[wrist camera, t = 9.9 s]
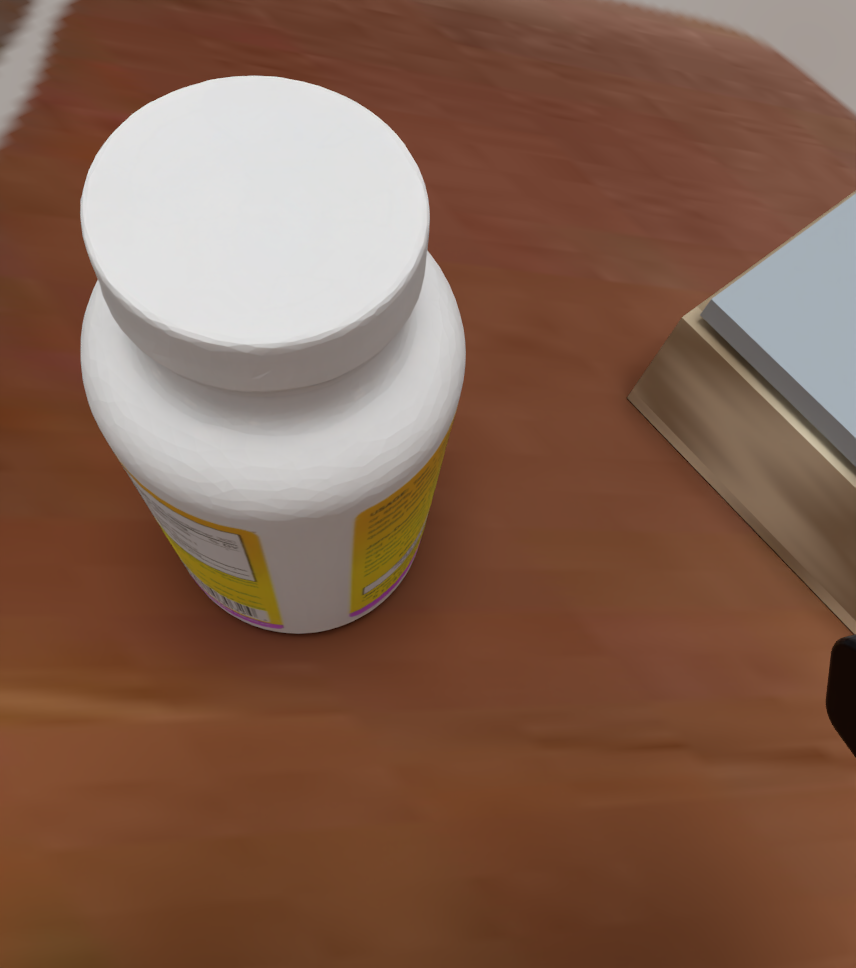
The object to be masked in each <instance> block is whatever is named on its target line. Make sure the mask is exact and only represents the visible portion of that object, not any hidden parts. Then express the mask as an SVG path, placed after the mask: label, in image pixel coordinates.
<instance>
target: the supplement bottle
mask: <svg viewBox="0 0 856 968" xmlns="http://www.w3.org/2000/svg"><path fill="white" fill-rule="evenodd" d="M80 214H81V226H82V235H83V239H84V242H85V246H86V249H87V252H88V255H89V258H90V261H91V263H92V266H93V268H94V271H95V273H96V275H97V278H98V281H97V283H96V285H95V287H94V289H93V292H92V294H91V297H90V300H89V303H88V306H87V309H86V312H85V316H84V321H83V326H82V334H81V367H82V377H83V382H84V387H85V391H86V395H87V399H88V402H89V405H90V408H91V411H92V414H93V416H94V418H95V420H96V422H97V424H98V426H99V428H100V430H101V432H102V433H103V435H104V437H105V439H106V440H107V442H108V444H109V445H110V447H111V449H112V450H113V452H114V454H115V455H116V457H117V458H118V460H119V461H120V463H121V464H122V466H123V468H124V469H125V471H126V472H127V474H128V475H129V477H130V478H131V480H132V482H133V483H134V485H135V487H136V488H137V490H138V491H139V493H140V495H141V496H142V498H143V499H144V501H145V502H146V504H147V506H148V507H149V509H150V511H151V512H152V514H153V516H154V517H155V519H156V521H157V522H158V524H159V525H160V527H161V529H162V530H163V532H164V534H165V535H166V537H167V538H168V540H169V541H170V543H171V545H172V546H173V548H174V550H175V551H176V553H177V554H178V556H179V558H180V559H181V561H182V562H183V564H184V566H185V567H186V569H187V570H188V572H189V573H190V575H191V576H192V578H193V579H194V580H195V581H196V583H197V584H198V585H199V586H200V588H201V589H202V590H203V591H204V592H205V593H206V594H207V595H208V596H209V598H210V599H211V600H213V601H214V602H215V603H216V604H217V605H218V606H219V607H221V608H222V609H224V610H225V611H226V612H228V613H229V614H231V615H232V616H234V617H236V618H238V619H240V620H242V621H244V622H246V623H248V624H251V625H253V626H256V627H259V628H262V629H266V630H271V631H276V632H283V633H295V634H301V633H314V632H321V631H326V630H330V629H333V628H337V627H340V626H343V625H345V624H348V623H350V622H352V621H355V620H356V619H358V618H360V617H362V616H364V615H366V614H367V613H369V612H370V611H372V610H373V609H375V608H376V607H377V606H378V605H380V604H381V603H382V602H383V601H384V600H385V599H386V598H388V596H389V595H390V594H391V593H392V592H393V591H394V590H395V589H396V588H397V587H398V585H399V584H400V583H401V581H402V580H403V578H404V577H405V576H406V574H407V572H408V570H409V569H410V567H411V564H412V562H413V560H414V558H415V556H416V553H417V550H418V547H419V544H420V541H421V538H422V535H423V531H424V528H425V524H426V520H427V516H428V513H429V509H430V505H431V502H432V498H433V494H434V490H435V487H436V484H437V480H438V475H439V472H440V468H441V464H442V460H443V456H444V453H445V449H446V445H447V442H448V438H449V434H450V431H451V428H452V424H453V421H454V417H455V414H456V411H457V406H458V402H459V398H460V394H461V389H462V385H463V379H464V371H465V355H466V351H465V337H464V329H463V325H462V321H461V317H460V313H459V309H458V306H457V303H456V299H455V297H454V295H453V292H452V290H451V288H450V285H449V283H448V281H447V280H446V278H445V276H444V274H443V272H442V270H441V269H440V267H439V266H438V264H437V263H436V261H435V260H434V259H433V257H432V256H431V255H430V253H429V252H428V251H427V248H428V238H429V224H430V215H429V203H428V196H427V191H426V187H425V184H424V181H423V178H422V176H421V173H420V171H419V168H418V166H417V164H416V162H415V161H414V159H413V157H412V156H411V154H410V153H409V151H408V149H407V148H406V146H405V144H404V143H403V142H402V141H401V139H400V138H399V137H398V136H397V135H396V134H395V133H394V131H393V130H392V129H391V128H390V127H389V126H388V125H387V124H385V123H384V122H383V121H382V120H381V119H380V118H378V117H377V116H376V115H375V114H373V113H372V112H371V111H369V110H368V109H366V108H364V107H363V106H361V105H360V104H358V103H356V102H355V101H353V100H351V99H349V98H347V97H345V96H343V95H340V94H338V93H336V92H333V91H331V90H328V89H326V88H323V87H320V86H317V85H313V84H309V83H306V82H301V81H296V80H291V79H286V78H280V77H270V76H236V77H227V78H219V79H213V80H208V81H205V82H202V83H199V84H195V85H191V86H188V87H185V88H182V89H179V90H176V91H174V92H171V93H169V94H167V95H165V96H163V97H161V98H159V99H157V100H154V101H152V102H150V103H148V104H147V105H145V106H144V107H142V108H141V109H139V110H138V111H136V112H135V113H133V114H132V115H131V116H130V117H129V118H128V119H127V120H126V121H124V122H123V123H122V124H121V125H120V126H119V127H118V128H117V129H116V130H115V131H114V132H113V133H112V134H111V136H110V137H109V138H108V139H107V141H106V142H105V143H104V145H103V146H102V148H101V149H100V150H99V152H98V153H97V155H96V157H95V159H94V161H93V163H92V165H91V167H90V169H89V171H88V175H87V178H86V181H85V185H84V189H83V193H82V198H81V213H80Z"/></svg>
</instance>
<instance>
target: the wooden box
mask: <svg viewBox="0 0 856 968" xmlns="http://www.w3.org/2000/svg"><path fill="white" fill-rule="evenodd" d="M854 194H856V191H855V192H853V193H852V194H850V195H849V196H848V197H846V198H845V199H844V200H842V201H841V202H840V203H838V204H837V205H835V206H834V207H833V208H831V209H830V210H829V211H827V212H826V213H824V214H823V215H822V216H820V217H819V218H818V219H816V220H815V221H813V222H812V223H811V224H809V225H808V226H807V227H805V228H804V229H802V230H801V231H800V232H798V233H797V234H796V235H794V236H793V237H792V238H790V239H789V240H787V241H786V242H785V243H783V244H782V245H781V246H779V247H778V248H776V249H775V250H774V251H772V252H771V253H770V254H768V255H767V256H765V257H764V258H763V259H761V260H760V261H759V262H757V263H756V264H755V265H753V266H752V267H750V268H749V269H748V270H746V271H745V272H744V273H742V274H741V275H739V276H738V277H737V278H735V279H734V280H733V281H731V282H730V283H728V284H727V285H726V286H724V287H723V288H722V289H720V290H719V291H718V292H716V293H715V294H713V295H712V296H711V297H709V298H708V299H707V300H705V301H704V302H702V303H701V304H700V305H698V306H697V307H696V308H694V309H693V310H691V311H690V312H689V313H687V314H686V315H685V316H683V317H682V318H681V320H680V321H679V323H678V324H677V325H676V327H675V328H674V330H673V331H672V333H671V334H670V336H669V337H668V339H667V340H666V341H665V343H664V344H663V346H662V347H661V349H660V350H659V352H658V353H657V355H656V356H655V358H654V359H653V360H652V362H651V363H650V365H649V366H648V368H647V369H646V371H645V372H644V374H643V375H642V376H641V378H640V379H639V381H638V382H637V384H636V385H635V387H634V388H633V390H632V391H631V392H630V394H629V395H628V397H627V399H628V400H629V401H630V402H631V403H632V404H633V405H634V406H635V407H636V408H637V409H638V410H639V411H640V412H641V413H642V414H643V415H644V416H645V417H646V418H647V419H648V420H649V421H650V422H651V423H652V424H653V426H654V427H655V428H656V429H657V430H658V431H659V432H660V433H661V434H662V435H663V436H664V437H665V438H666V439H667V440H668V441H669V442H670V443H671V444H672V445H673V446H674V447H675V448H676V449H677V450H678V451H679V453H680V454H681V455H682V456H683V457H684V458H685V459H686V460H687V461H688V462H689V463H690V464H691V465H692V466H693V467H694V468H695V469H696V470H697V471H698V472H699V473H700V474H701V475H702V476H703V477H704V478H705V480H706V481H707V482H708V483H709V484H710V485H711V486H712V487H713V488H714V489H715V490H716V491H717V492H718V493H719V494H720V495H721V496H722V497H723V498H724V499H725V500H726V501H727V502H728V503H729V504H730V506H731V507H732V508H733V509H734V510H735V511H736V512H737V513H738V514H739V515H740V516H741V517H742V518H743V519H744V520H745V521H746V522H747V523H748V524H749V525H750V526H751V527H752V528H753V529H754V530H755V531H756V533H757V534H758V535H759V536H760V537H761V538H762V539H763V540H764V541H765V542H766V543H767V544H768V545H769V546H770V547H771V548H772V549H773V550H774V551H775V552H776V553H777V554H778V555H779V556H780V557H781V558H782V560H783V561H784V562H785V563H786V564H787V565H788V566H789V567H790V568H791V569H792V570H793V571H794V572H795V573H796V574H797V575H798V576H799V577H800V578H801V579H802V580H803V581H804V582H805V583H806V584H807V585H808V587H809V588H810V589H811V590H812V591H813V592H814V593H815V594H816V595H817V596H818V597H819V598H820V599H821V600H822V601H823V602H824V603H825V604H826V605H827V606H828V607H829V608H830V609H831V610H832V611H833V613H834V614H835V615H836V616H837V617H838V618H839V619H840V620H841V621H842V622H843V623H844V624H845V625H846V626H847V627H848V628H849V629H850V630H851V631H852V632H853V633H854V634H856V467H855V466H854V465H853V464H852V463H851V462H850V461H849V460H848V459H847V458H846V457H845V456H844V455H843V454H842V453H841V452H840V451H839V450H838V449H837V448H836V447H835V446H834V445H833V444H832V443H831V442H830V441H829V440H828V439H827V438H826V437H825V436H824V435H823V434H822V433H820V432H819V431H818V430H817V429H816V428H815V427H814V426H813V425H812V424H811V423H810V422H809V421H808V420H807V419H806V418H805V417H804V416H803V415H802V414H801V413H800V412H799V411H798V410H797V409H796V408H795V407H794V406H793V405H792V404H791V403H790V402H789V401H788V400H787V399H786V398H785V397H784V396H782V395H781V394H780V393H779V392H778V391H777V390H776V389H775V388H774V387H773V386H772V385H771V384H770V383H769V382H768V381H767V380H766V379H765V378H764V377H763V376H762V375H761V374H760V373H759V372H758V371H757V370H756V369H755V368H754V367H753V366H752V365H751V364H750V363H749V362H748V361H747V360H746V359H745V358H743V357H742V356H741V355H740V354H739V353H738V352H737V351H736V350H735V349H734V348H733V347H732V346H731V345H730V344H729V343H728V342H727V341H726V340H725V339H724V338H723V337H722V336H721V335H720V334H719V333H718V332H717V331H716V330H715V329H714V328H713V327H712V326H711V325H710V324H709V323H708V322H707V321H705V320H704V319H703V318H702V317H701V316H700V314H701V313H702V311H703V310H704V309H705V307H706V306H707V304H708V303H709V302H710V300H711V299H712V298H713V297H715V296H716V295H718V294H719V293H720V292H722V291H723V290H724V289H726V288H727V287H729V286H730V285H731V284H733V283H734V282H735V281H737V280H738V279H739V278H741V277H742V276H744V275H745V274H746V273H748V272H749V271H750V270H752V269H753V268H754V267H756V266H757V265H759V264H760V263H761V262H763V261H764V260H765V259H767V258H768V257H770V256H771V255H772V254H774V253H775V252H776V251H778V250H779V249H780V248H782V247H783V246H785V245H786V244H787V243H789V242H790V241H791V240H793V239H794V238H796V237H797V236H798V235H800V234H801V233H802V232H804V231H805V230H806V229H808V228H809V227H811V226H812V225H813V224H815V223H816V222H817V221H819V220H820V219H821V218H823V217H824V216H826V215H827V214H828V213H830V212H831V211H832V210H834V209H835V208H837V207H838V206H839V205H841V204H842V203H843V202H845V201H846V200H847V199H849V198H850V197H852V196H853V195H854Z"/></svg>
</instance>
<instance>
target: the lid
mask: <svg viewBox="0 0 856 968" xmlns="http://www.w3.org/2000/svg"><path fill="white" fill-rule="evenodd" d="M700 316H701V317H702V318H703V319H704V320H705V321H707V322H708V323H709V324H710V325H711V326H712V327H713V328H714V329H715V330H716V331H717V332H718V333H719V334H720V335H721V336H722V337H723V338H724V339H725V340H726V341H727V342H728V343H729V344H730V345H731V346H732V347H733V348H734V349H735V350H736V351H737V352H738V353H739V354H740V355H741V356H742V357H743V358H745V359H746V360H747V361H748V362H749V363H750V364H751V365H752V366H753V367H754V368H755V369H756V370H757V371H758V372H759V373H760V374H761V375H762V376H763V377H764V378H765V379H766V380H767V381H768V382H769V383H770V384H771V385H772V386H773V387H774V388H775V389H776V390H777V391H778V392H779V393H780V394H781V395H782V396H784V397H785V398H786V399H787V400H788V401H789V402H790V403H791V404H792V405H793V406H794V407H795V408H796V409H797V410H798V411H799V412H800V413H801V414H802V415H803V416H804V417H805V418H806V419H807V420H808V421H809V422H810V423H811V424H812V425H813V426H814V427H815V428H816V429H817V430H818V431H819V432H820V433H822V434H823V435H824V436H825V437H826V438H827V439H828V440H829V441H830V442H831V443H832V444H833V445H834V446H835V447H836V448H837V449H838V450H839V451H840V452H841V453H842V454H843V455H844V456H845V457H846V458H847V459H848V460H849V461H850V462H851V463H852V464H853V465H854V466H855V467H856V194H854V195H853V196H852V197H850V198H849V199H847V200H846V201H845V202H843V203H842V204H841V205H839V206H838V207H837V208H835V209H834V210H832V211H831V212H830V213H828V214H827V215H826V216H824V217H823V218H821V219H820V220H819V221H817V222H816V223H815V224H813V225H812V226H811V227H809V228H808V229H806V230H805V231H804V232H802V233H801V234H800V235H798V236H797V237H796V238H794V239H793V240H791V241H790V242H789V243H787V244H786V245H785V246H783V247H782V248H780V249H779V250H778V251H776V252H775V253H774V254H772V255H771V256H770V257H768V258H767V259H765V260H764V261H763V262H761V263H760V264H759V265H757V266H756V267H754V268H753V269H752V270H750V271H749V272H748V273H746V274H745V275H744V276H742V277H741V278H739V279H738V280H737V281H735V282H734V283H733V284H731V285H730V286H729V287H727V288H726V289H724V290H723V291H722V292H720V293H719V294H718V295H716V296H715V297H713V298H712V299H711V300H710V302H709V303H708V304H707V306H706V307H705V309H704V310H703V311H702V313H701V314H700Z"/></svg>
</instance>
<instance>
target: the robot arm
mask: <svg viewBox="0 0 856 968" xmlns="http://www.w3.org/2000/svg"><path fill="white" fill-rule="evenodd" d="M826 709H827V713H828V716H829V719H830V721H831V723H832V725H833V726H834V728H835V730H836V731H837V732H838V734H839V735H840V737H841V738H842V739H843V741H844V742H845V743H846V745H847V746H848V748H849V749H850V750H851V752H852V753H853V755H854V756H855V757H856V634H855V635H851V636H847V637H843V638H841V639H839V640H838V641H836V643H835V644H834V646H833V648H832V651H831V658H830V667H829V676H828V685H827V693H826Z"/></svg>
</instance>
